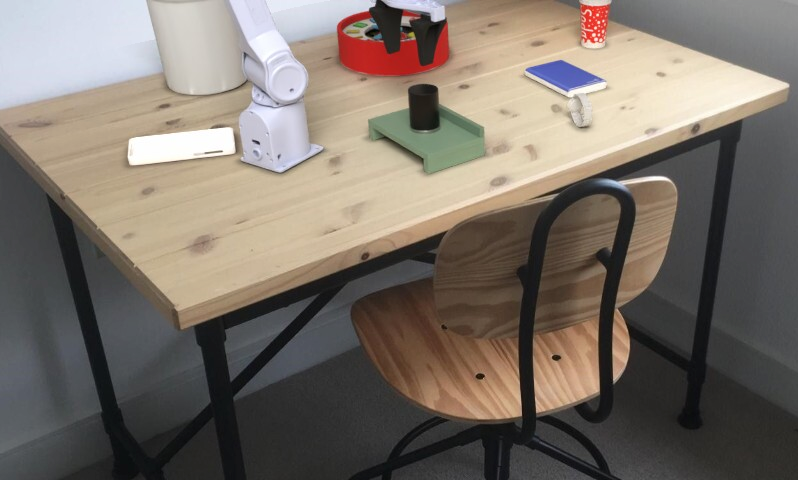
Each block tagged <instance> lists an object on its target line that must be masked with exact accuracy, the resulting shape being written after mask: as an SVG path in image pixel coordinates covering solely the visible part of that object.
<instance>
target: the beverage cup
mask: <svg viewBox="0 0 798 480" xmlns="http://www.w3.org/2000/svg"><path fill="white" fill-rule="evenodd" d="M578 2H579V4H580V5H579V8H580V9H579V10H580V15H579V17H580V45H581V47H583V48H586V49H593V50H595V49H602V48H604V47H605V46H606V42H607V36H608V35H607V33H608V25H609V18H610V16H609V15H610V9H611V3H612V0H578Z"/></svg>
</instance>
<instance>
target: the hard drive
mask: <svg viewBox="0 0 798 480" xmlns="http://www.w3.org/2000/svg"><path fill="white" fill-rule="evenodd" d="M524 73H525V76H526V77H528V78H529V79H531V80H533V81H535V82H538V83H539V84H541V85H543V86H545V87H547V88H550V89H551V90H553V91H555V92H557V93H559V94H561V95H563V96H565V97H566V98H570V99H571V98H572V97H573V95H574V94H579V93H585V94H586V95H587V94H590V93H593V92H598V91H601V90H605V89H606V88H607V80H606V79H604V78H601V77H599V76H598V75H595V74H593V73H591V72H590V71H587V70H584V69H582V68H580V67H578V66H576V65H574V64H572V63H569V62H567V61H565V60H563V59H559V60H553V61H550V62H546V63H542V64H538V65H533V66H529V67H527V68H525V71H524Z"/></svg>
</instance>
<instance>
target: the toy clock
mask: <svg viewBox="0 0 798 480" xmlns="http://www.w3.org/2000/svg"><path fill="white" fill-rule="evenodd" d="M418 18H420V15H418V14H415V13H412V12H408V11H405V10H403V15H402V21H401V46H400V51H399V52H396V53H392V54H388V53H387V51H386V48H385V45H384V42H383V39H382V36H381V33H380V31H379V29H378V26H377V24H376V23H375V21H374V19H373V18H372V16H371V15H370V13H369V10H365V11H360V12H358V13H353V14H351V15H349V16H346V17H344V18H343V19H342V20H340V21H339V22H338V23H337V25H336V34H337V46H338V56H339V61H340V62H339V63H340V64H341V65H342V66H343V67H344V68H346V69H347V70H349V71H353V72H355V73H359V74H362V75H370V76H378V77H398V76H399V77H400V76H410V75H411V76H412V75H417V74H421V73H425V72H429V71H432V70H434V69H437V68H440V67H441V66H442V65H444V64H445V63H446V62H447V61H448V60H449V58H450V41H449V23H448V21H447V23H446V24H445V26H444V28H443V30H442V32H441V34H440V37H439V39H438V43H437V46H436V51H435V55H434V60H433V63H432V64H429V65H426V66H421V65H420V63H419V58H418V49H417V43H416V39H415V35H414V32H413V30H412V27H411V25H410V21H411V20H415V19H418Z"/></svg>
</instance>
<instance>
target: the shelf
mask: <svg viewBox="0 0 798 480" xmlns="http://www.w3.org/2000/svg"><path fill="white" fill-rule="evenodd" d="M439 116H440V124H441V128H440V130H439V131H437V132H434V133H430V134H418V133H414V132H412V131H411V130H410V127H409V125H410V117H409V107H406V108H403V109H400V110H396V111H393V112H389V113H385V114H382V115H379V116H375V117H372V118H369V119H367V124H368V134H369V135H368V136H369V139H370V140H373V141H376V140H379V139H382V138H388V139H390V140H392V141H394V142H395V143H396V144H399V145H400V146H402V147H403V148H405V149H407V150H408V151H410V152H411V153H413V154H415V155H417V156H419V157H420V158H421V159H423V172H424V173H426V174H428V175H430V174H433V173H437V172H439V171H442V170H445V169H448V168H452V167H454V166H457V165H461V164H463V163H467V162H469V161H472V160H475V159H478V158H481V157H484V156H485V155H486V153H485V151H486V150H485V149H486V148H485V145H486V144H485V127H484V126H483V125H481V124H479V123H477V122H476V121H473V120H472V119H470V118H468V117H466V116H463V115H462V114H460V113H458V112H456V111H454V110H452V109H450V108H448V107H447V106H444V105H443V104H441V103H439Z"/></svg>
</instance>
